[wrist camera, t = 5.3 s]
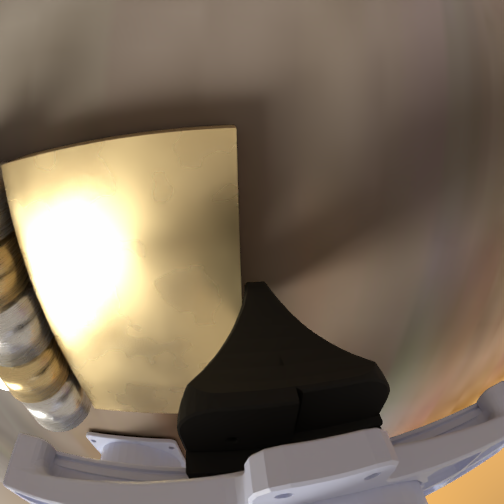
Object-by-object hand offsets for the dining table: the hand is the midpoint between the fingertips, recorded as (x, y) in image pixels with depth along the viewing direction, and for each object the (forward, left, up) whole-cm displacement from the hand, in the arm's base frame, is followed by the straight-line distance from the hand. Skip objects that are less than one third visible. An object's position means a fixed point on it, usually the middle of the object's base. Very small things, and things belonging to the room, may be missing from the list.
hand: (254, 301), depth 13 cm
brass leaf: (0, +7, -1) cm, 8 cm away
